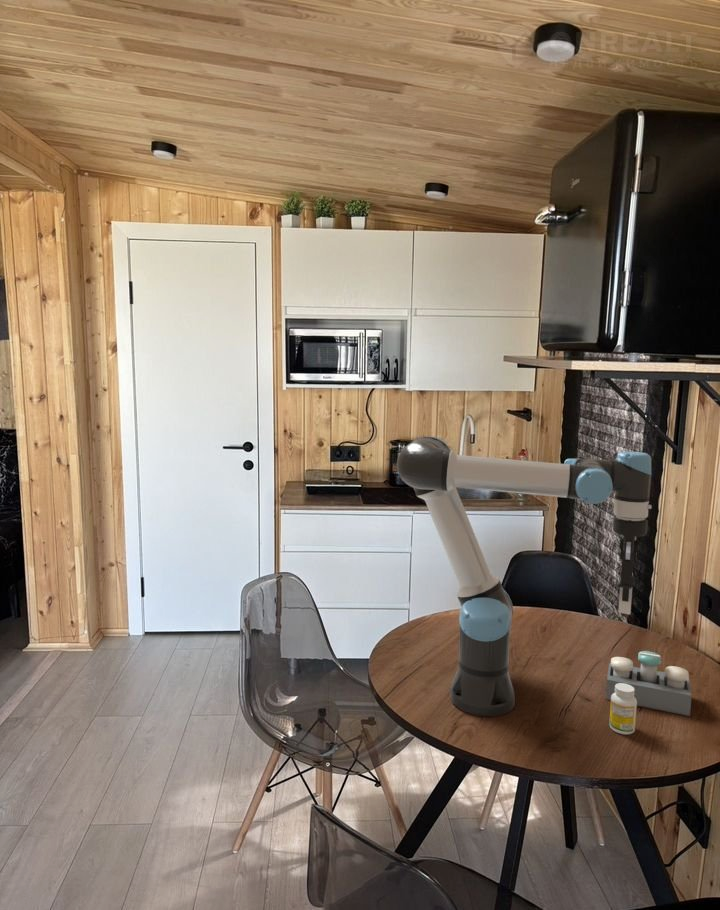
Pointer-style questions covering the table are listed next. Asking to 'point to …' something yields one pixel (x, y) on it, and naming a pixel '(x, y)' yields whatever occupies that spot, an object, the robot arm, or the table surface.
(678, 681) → the knob
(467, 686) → the robot arm
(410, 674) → the table surface
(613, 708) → the supplement bottle
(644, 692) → the grey slotted rack
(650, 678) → the dial mid
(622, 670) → the knob
